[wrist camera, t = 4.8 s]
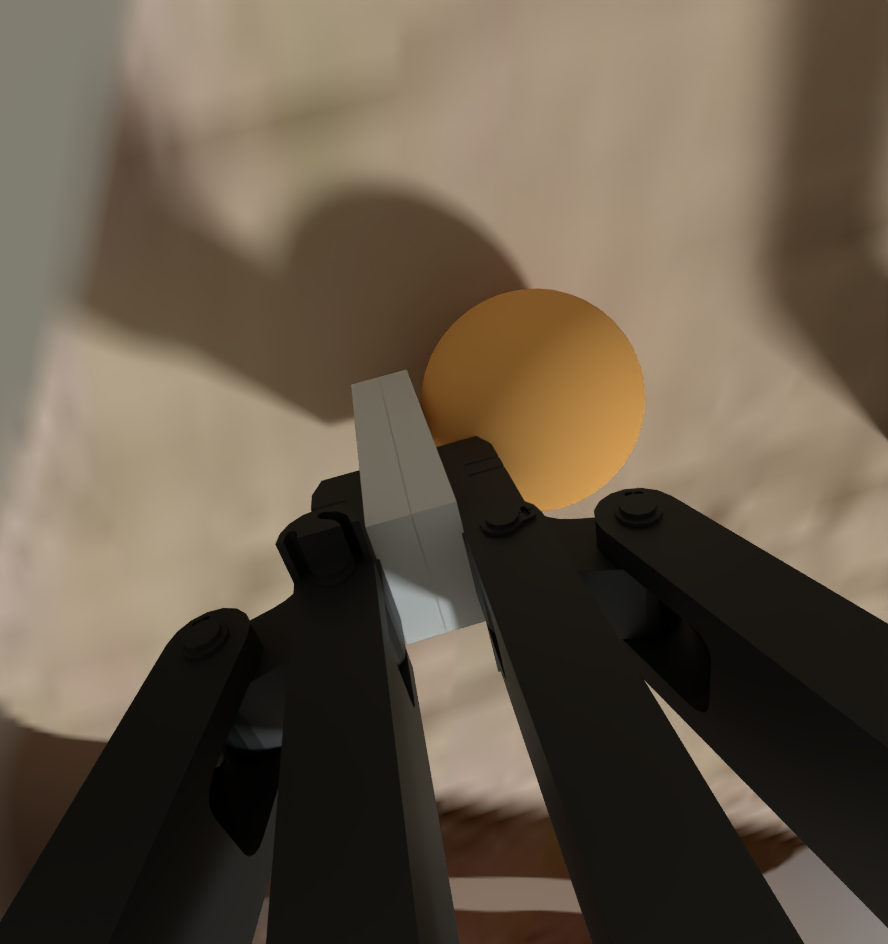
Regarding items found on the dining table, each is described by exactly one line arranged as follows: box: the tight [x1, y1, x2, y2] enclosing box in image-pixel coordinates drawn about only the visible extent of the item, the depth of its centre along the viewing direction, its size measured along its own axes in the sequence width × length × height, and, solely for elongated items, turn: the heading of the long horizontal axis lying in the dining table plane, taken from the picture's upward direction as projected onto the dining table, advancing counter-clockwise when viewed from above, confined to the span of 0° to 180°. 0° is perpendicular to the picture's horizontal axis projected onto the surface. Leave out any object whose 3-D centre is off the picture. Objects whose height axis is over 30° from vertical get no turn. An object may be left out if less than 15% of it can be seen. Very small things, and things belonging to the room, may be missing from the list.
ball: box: [421, 289, 645, 511], centre depth 14 cm, size 6×6×6 cm
